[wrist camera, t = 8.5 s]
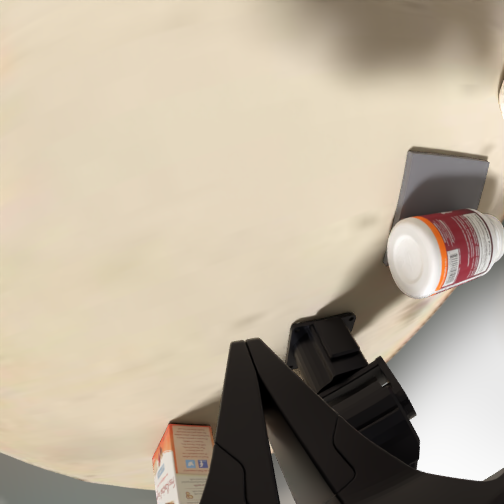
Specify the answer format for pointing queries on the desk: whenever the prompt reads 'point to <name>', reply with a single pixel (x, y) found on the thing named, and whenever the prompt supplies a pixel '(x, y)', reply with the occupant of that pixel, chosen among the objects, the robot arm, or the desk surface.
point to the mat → (439, 185)
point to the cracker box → (182, 463)
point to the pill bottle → (443, 250)
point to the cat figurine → (502, 99)
